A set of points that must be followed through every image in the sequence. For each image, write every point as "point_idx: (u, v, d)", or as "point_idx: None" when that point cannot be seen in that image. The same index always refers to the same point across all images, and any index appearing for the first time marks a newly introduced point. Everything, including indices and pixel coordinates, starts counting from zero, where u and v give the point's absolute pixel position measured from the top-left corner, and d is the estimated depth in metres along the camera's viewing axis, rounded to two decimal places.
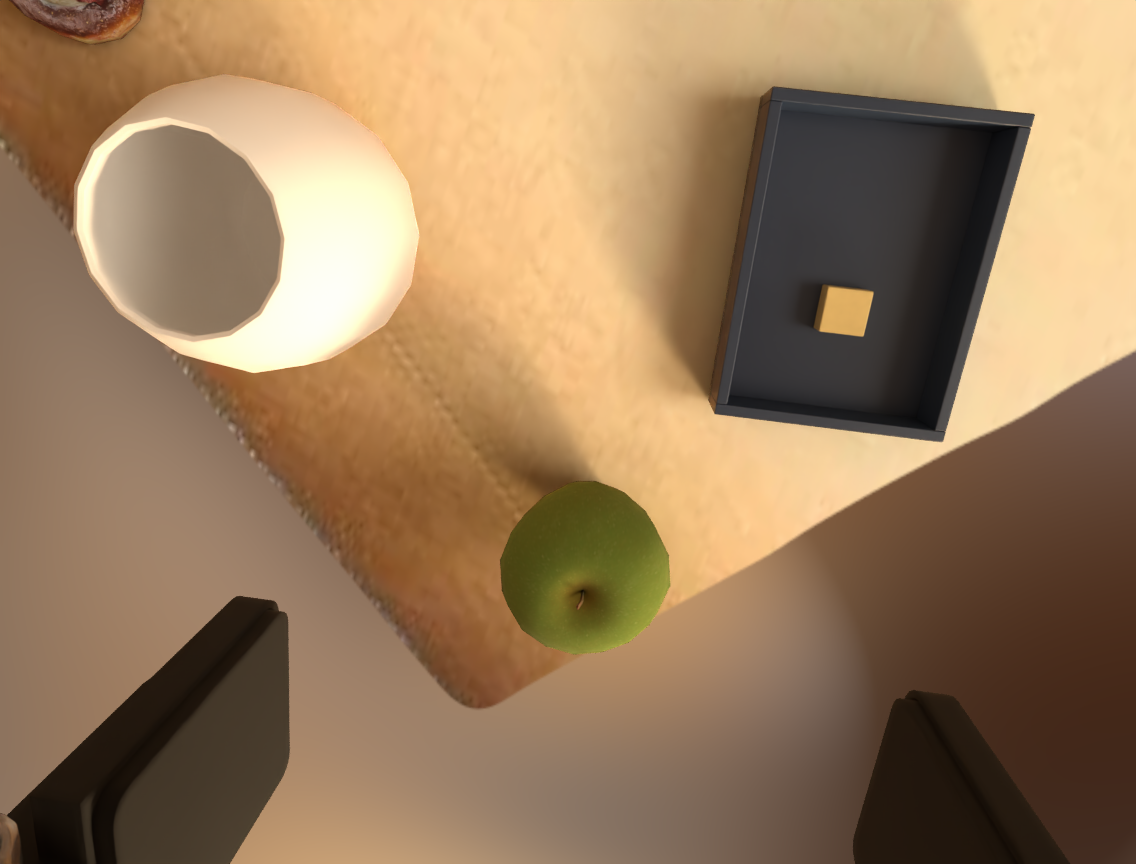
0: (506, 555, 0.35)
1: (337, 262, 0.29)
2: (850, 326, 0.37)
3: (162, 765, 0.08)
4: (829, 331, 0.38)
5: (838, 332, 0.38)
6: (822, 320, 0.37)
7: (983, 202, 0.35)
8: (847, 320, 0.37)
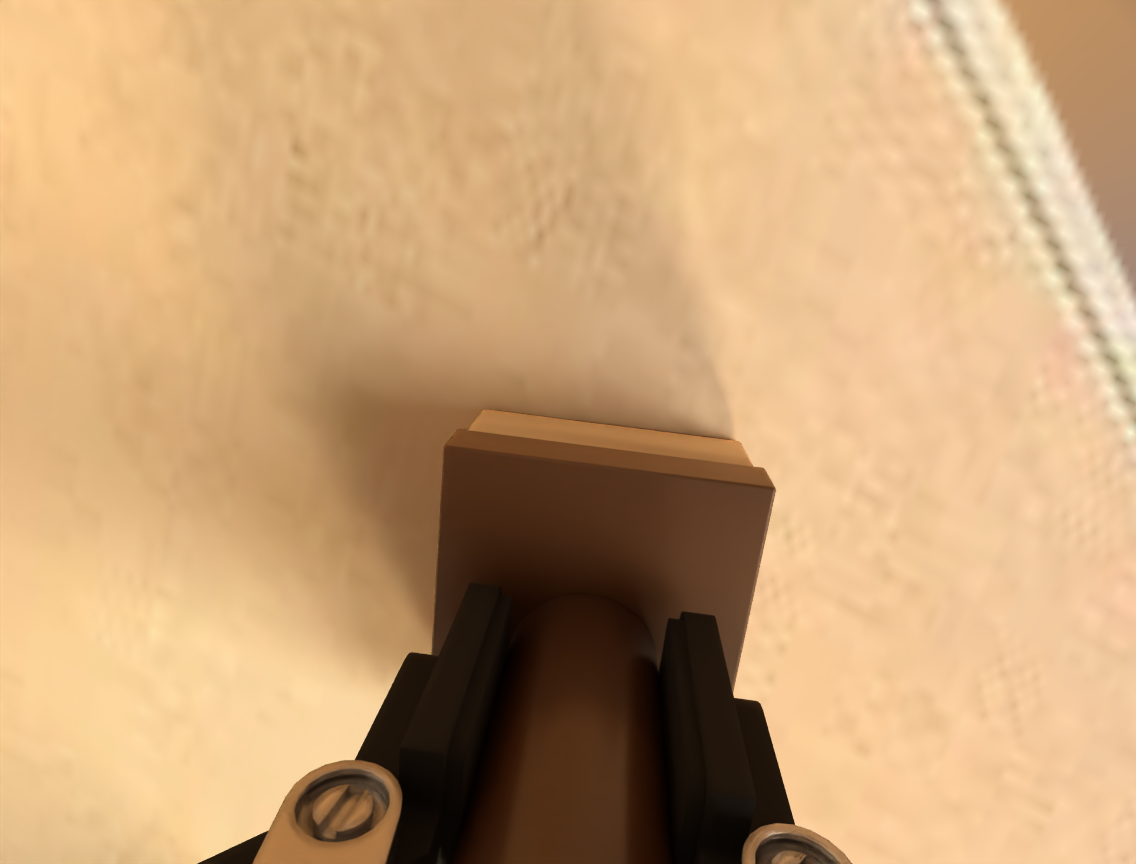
0: None
1: None
2: None
3: (476, 726, 0.09)
4: None
5: None
6: None
7: None
8: None
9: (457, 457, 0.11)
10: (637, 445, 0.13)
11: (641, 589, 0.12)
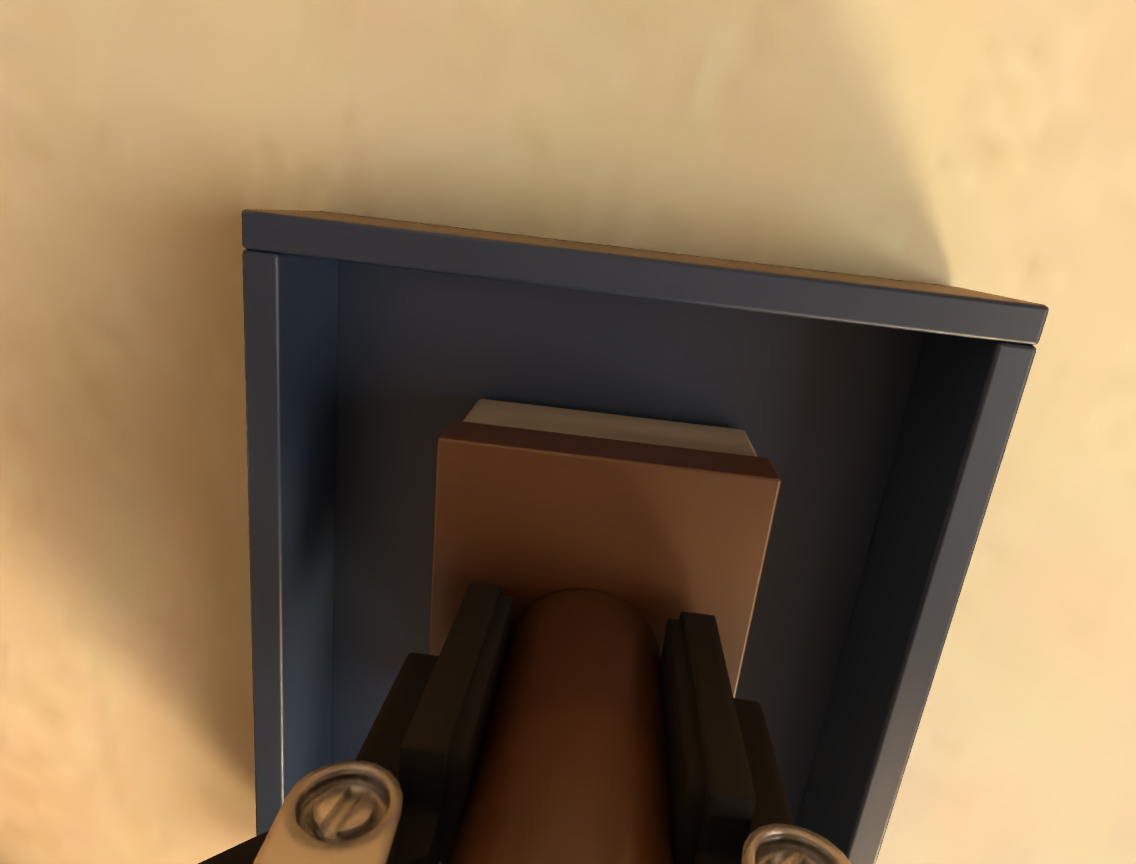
0: None
1: None
2: None
3: (476, 726, 0.09)
4: None
5: None
6: None
7: (904, 512, 0.13)
8: None
9: (451, 450, 0.11)
10: (638, 435, 0.12)
11: (642, 583, 0.12)
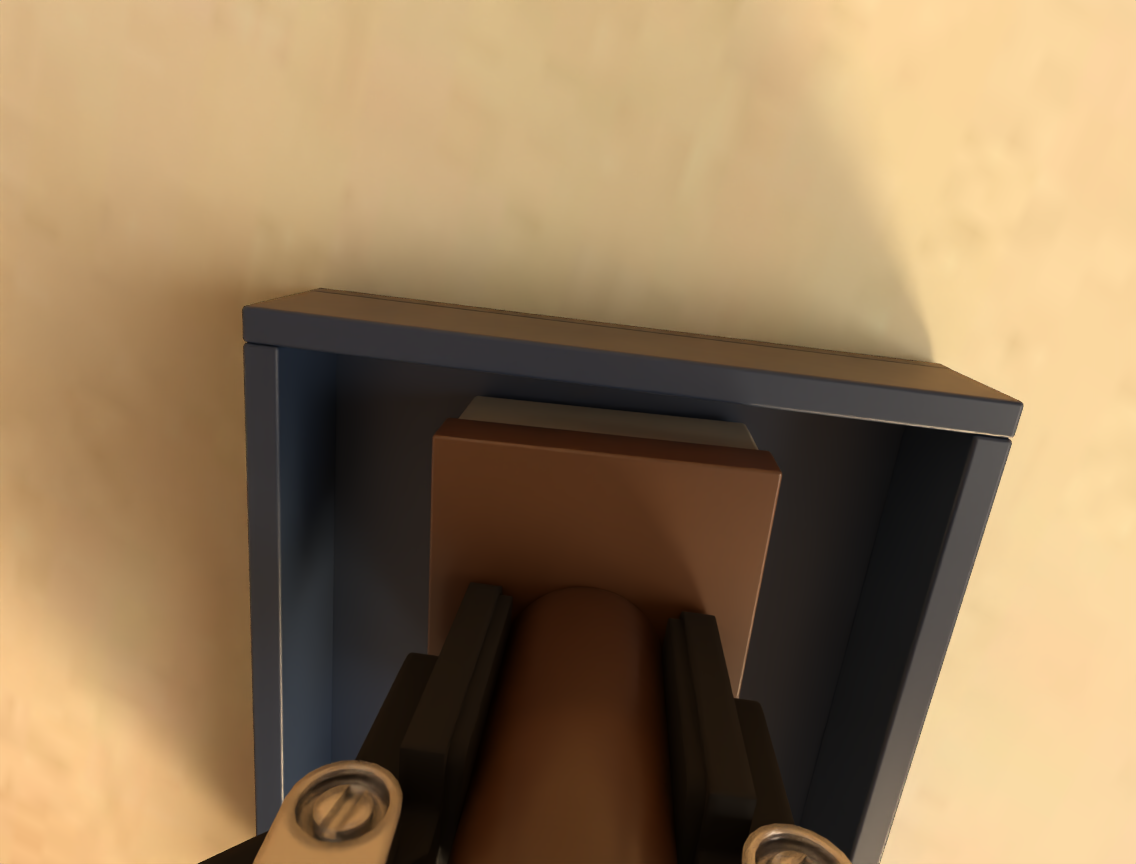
0: None
1: None
2: None
3: (475, 727, 0.09)
4: None
5: None
6: None
7: (888, 584, 0.13)
8: None
9: (446, 447, 0.11)
10: (636, 430, 0.12)
11: (643, 580, 0.11)
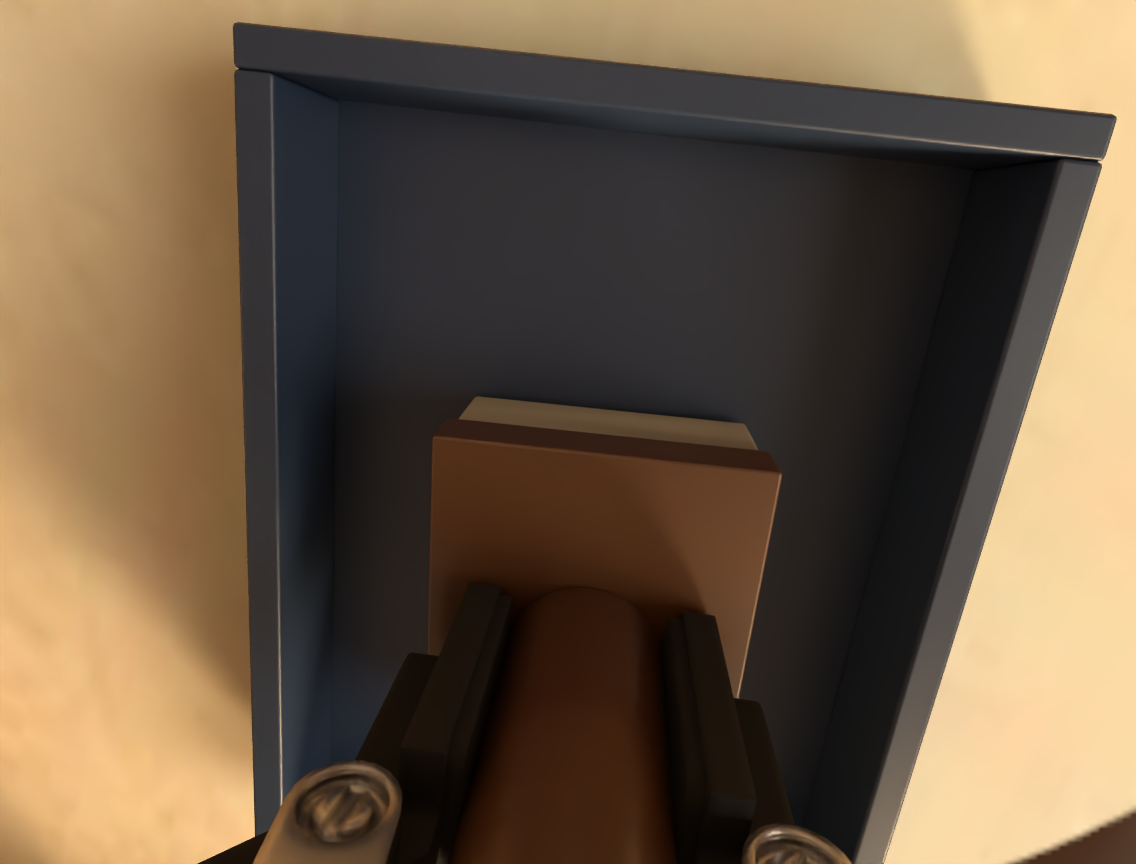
0: None
1: None
2: None
3: (475, 727, 0.09)
4: None
5: None
6: None
7: (948, 377, 0.12)
8: None
9: (446, 448, 0.11)
10: (636, 430, 0.12)
11: (643, 581, 0.11)
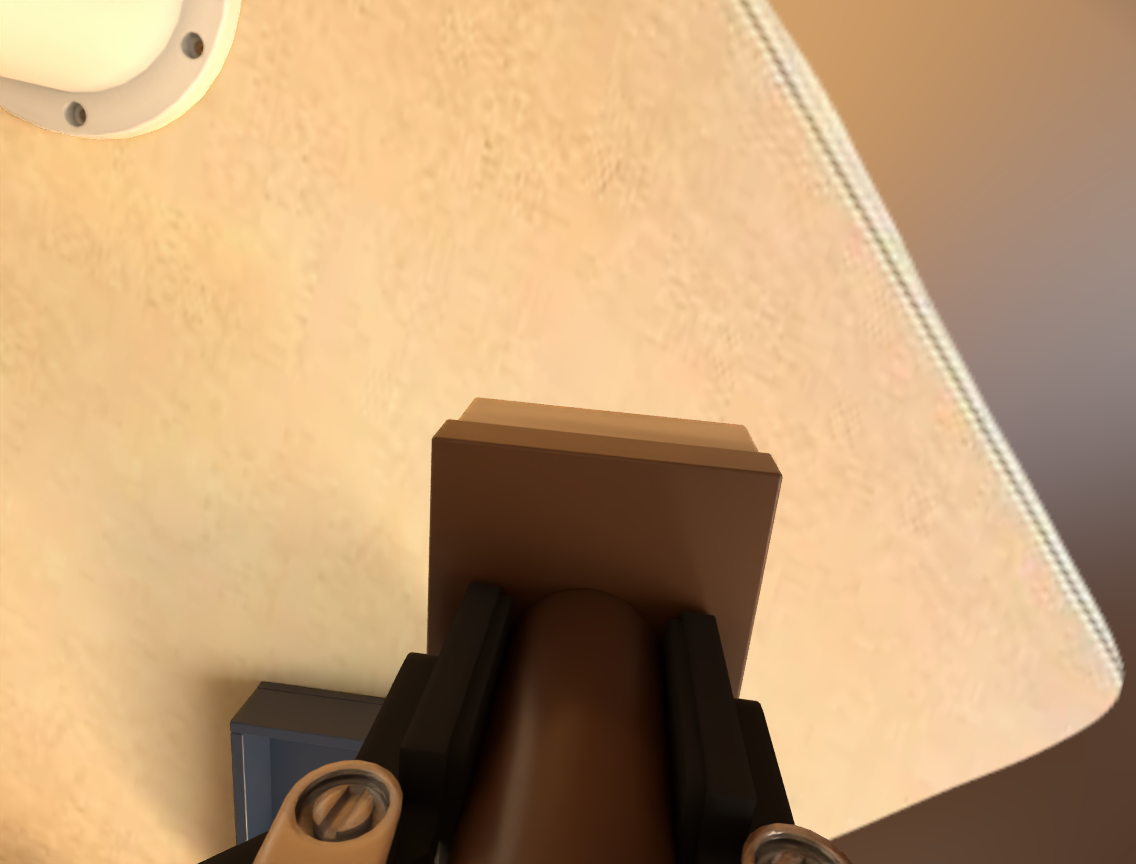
0: None
1: None
2: None
3: (476, 726, 0.09)
4: None
5: None
6: None
7: None
8: None
9: (446, 449, 0.11)
10: (636, 432, 0.12)
11: (643, 583, 0.11)
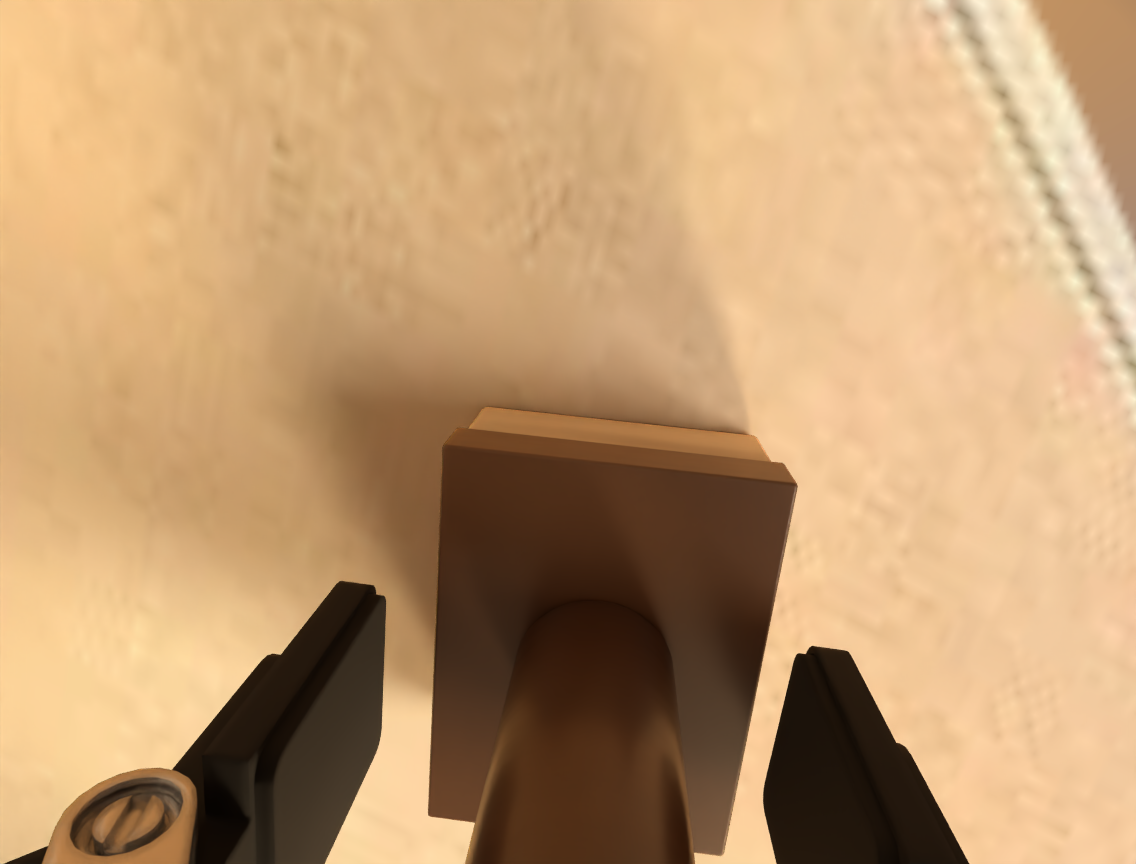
0: None
1: None
2: None
3: (304, 732, 0.08)
4: None
5: None
6: None
7: None
8: None
9: (457, 457, 0.11)
10: (648, 441, 0.12)
11: (655, 594, 0.11)
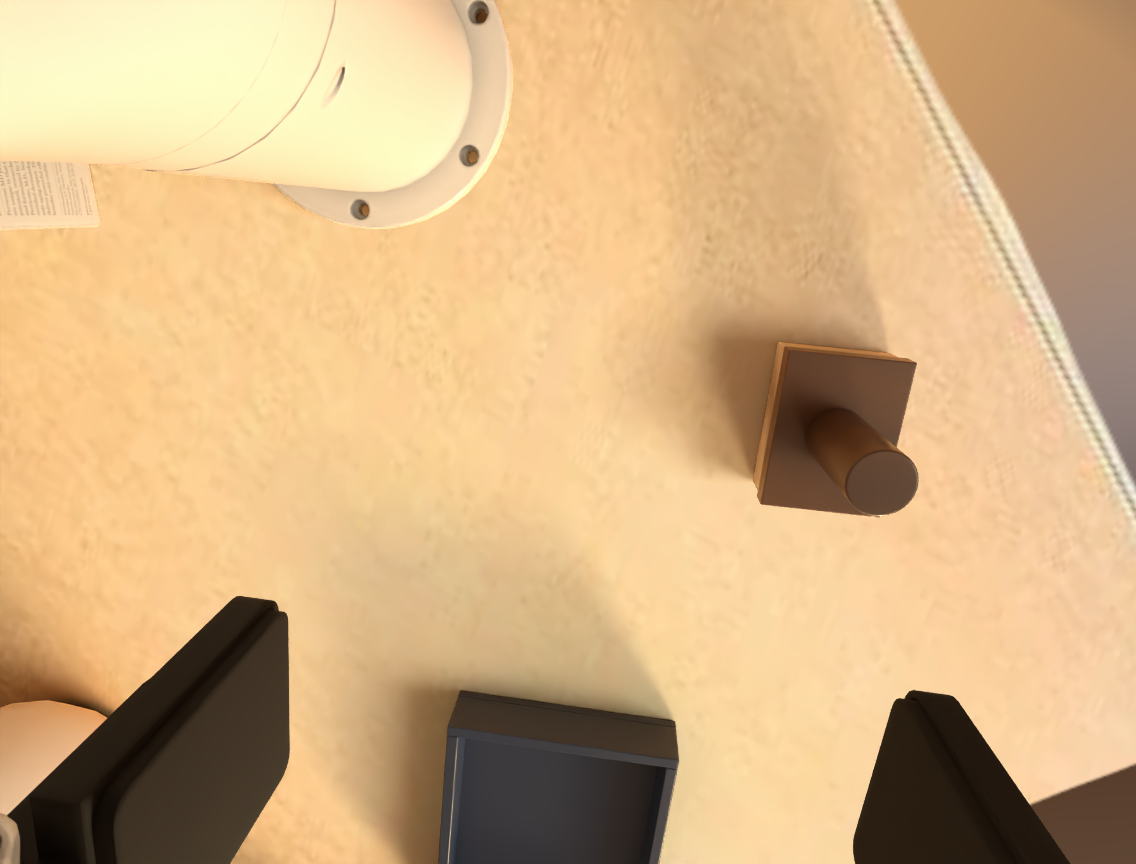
0: None
1: None
2: None
3: (162, 767, 0.08)
4: None
5: None
6: None
7: (655, 798, 0.39)
8: None
9: (794, 354, 0.30)
10: (852, 352, 0.32)
11: (862, 406, 0.31)
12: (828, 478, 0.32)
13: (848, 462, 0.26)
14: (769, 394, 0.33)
